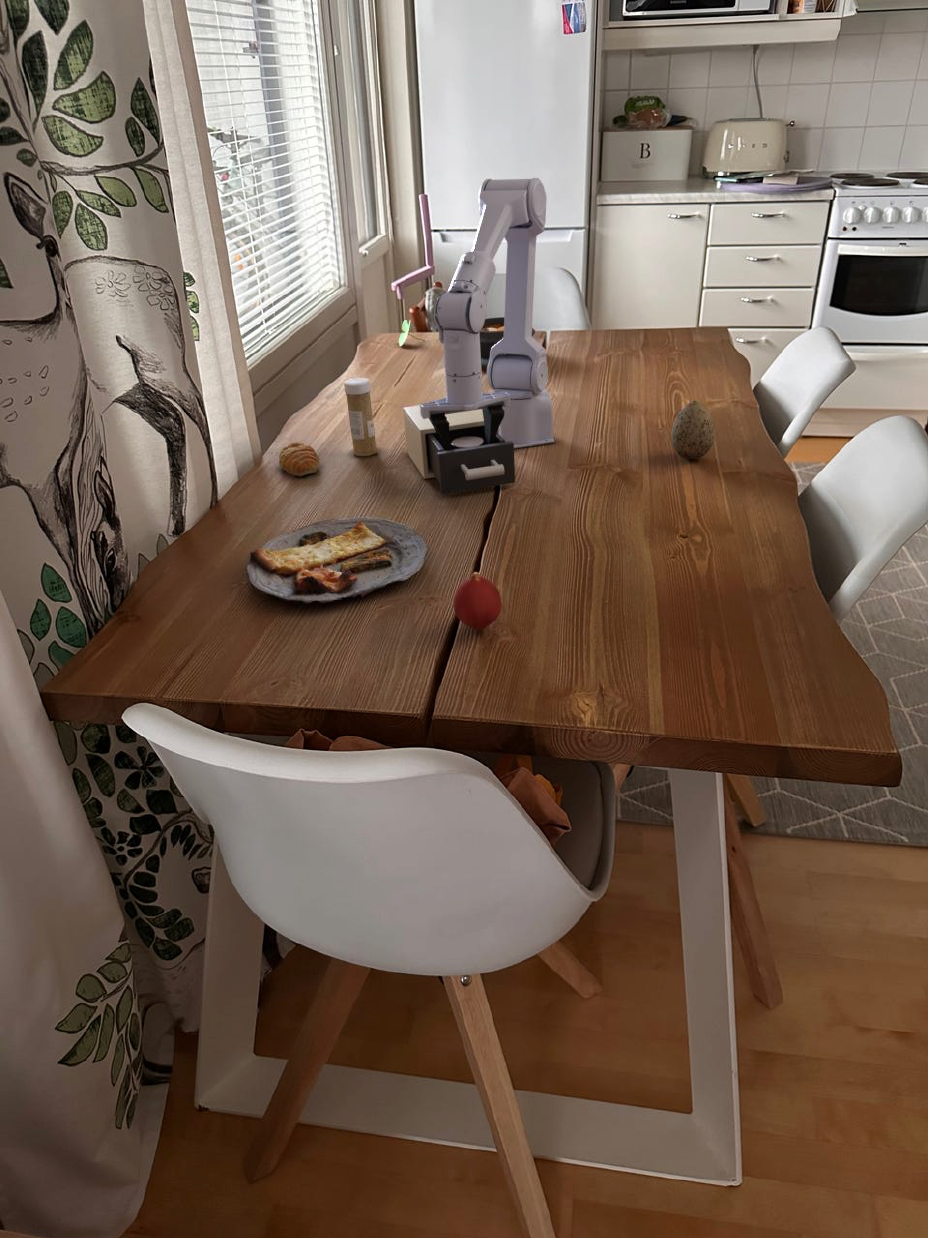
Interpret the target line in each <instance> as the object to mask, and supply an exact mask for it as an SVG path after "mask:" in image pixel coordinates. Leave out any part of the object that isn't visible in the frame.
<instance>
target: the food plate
mask: <svg viewBox="0 0 928 1238" xmlns="http://www.w3.org/2000/svg"><path fill="white" fill-rule="evenodd" d="M427 551H428V548H427V544H426V541H425V538H423V536H422V535H421V534H419V533H418V532H417V531H415V529H413V528H412V527H411V526H409V524H405V523H400V522H397V521H393V520H391V519H385V518H379V517H368V516H367V517H365V516H363V517H362V516H361V517H359V516H358V517H353V518H352V517H351V518H336V519H335V518H331V519H325V520H322V521H318V522H314V523H311V524H308V525H304V526H302V527H299V528H296V529H293V530H291V531H288V532H286V533H283V534H280V535H278V536H275V537H274V538H272V539H270V540H269V541H267V542H266V543H265V544H263V545H262V546H261V547H260V548H259V547H258V548H254V550H252V551H250V552H249V559H248V564H247V565H246V568H245V572H246V573H245V574H246V577H247V579H248V582H249V584H250V586H251V587H252V588H253V589H254V590H255V591H257V592H259V593H261V594H264V595H268V596H270V597H271V596H272V597H274V598H278V599H279V600H281V601H282V602H290V603H296V602H297V603H298V606H300V605H301V602H302V603H303V604H310V603H312V602H314V601H318V603H320V604H325V603H330V602H333V601H335V600H336V601H337V600H338V599H339V600H342V599H344V598H353V597H357V596H358V595H361V596H360V597H361V598H362V597H364V596H366V595H367V594H370V593H371V592H373V591H375V590H377V589H381V588H384V587H386V586H387V585H389V584H394V583H395V582H403V581H404V582H405V581H406V580H409V578H411V577H412V576H413V575H415V574H416V573H417V572H419V571H420V570H421V568H422V567H423V566H424V562H425V559H426V558H425V556H426V553H427ZM300 601H301V602H300Z"/></svg>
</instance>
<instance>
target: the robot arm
mask: <svg viewBox="0 0 928 1238" xmlns="http://www.w3.org/2000/svg"><path fill="white" fill-rule="evenodd" d="M547 198H548V197H547V192H546V189H545V186H544V184H543V182H542V180H541V179H540V178H539V177H532V178H510V179H509V178H508V179H507V178H506V179H492V178H485V179H484V181H482V184H481V185H480V188H479V191H478V209H479V210H478V211H479V216H480V220H479V224H478V227H477V230H476V234H475V237H474V240H473V245H472V248H471V251H468V252H465V253H464V254H463V255H461V258H460V261H459V263H458V266H457V268H456V270H455V273H454V274H453V278H452V280H451V283H450V285H449V288H448V290H447V292H444V293H442V295H440V296H438V297H437V299H436V302H435V305H434V314H433V321H434V325H435V328H436V329H437V331H438V332H437V333H438V339H439V341H440V344H443V345H442V346H443V347H442V348H443V359H444V361H443V362H444V373H445V384H446V385H445V389H446V397H444V398H440V399H436V400H433V401H428V402H424V403H419V405H420V412H421V416H422V418H423V419H427V418H429V420H430V421H431V423H432V425H433V427H434V429H435V431H436V433H437V435H438V437H439V440H440V443H441V446H442V447H443V449H444V451H449V450H450V443H449V422H448V421H447V417H446V416H445V414H452V413H459V412H466V411H473V410H480V409H482V411H483V418H484V426H485V445H488V444H494V442H495V438H496V434H497V431H498V429H499V435H500V436H501V437H502V438H503V439H504V440H505V442H508V441H512V442H513V443H514V449H519V448H527V447H533V446H539V445H547V444H552V443H554V442H555V439H554V426H553V425H554V420H553V419H554V418H553V417H554V415H553V412H554V411H553V401H552V397H551V395H550V392H549V391H548V390H547V389H545V388H546V386H547V383H548V378H549V366H548V364H547V363H548V361H547V350H546V348H545V347H544V346H543V345H542V344H541V343H539V342H538V341H537V340H536V339H535V338H534V337H532V328H533V317H534V315H533V314H534V296H535V295H534V294H535V275H536V274H535V273H536V253H537V252H536V251H537V236H539V235H541V234H543V233H544V232H545V225H546V221H547V220H546V218H547ZM504 239H505V241H506V262H505V263H506V265H505V268H506V269H505V288H504V289H505V291H504V338H503V339H502V340H500V341H499V342H498V343H497V344H495V345H494V346H493V347H492V348H491V351H490V360H489V363H488V366H486V381H487V384H488V385H489V387H490V389H491V390H492V391H494V392H483V375H482V373H483V372H482V366H481V353H480V334H479V331H480V330H481V329H482V327H483V325H484V322H485V319H486V313H487V311H486V310H487V306H488V300H487V295H488V293H489V289H490V287H491V285H492V282H493V279H494V277H495V274H496V265H495V262H494V259H495V256H496V254H497V252H498V251H499V248H500V246H501V244H502V242H503V241H504ZM506 354H523V355H528V356H529V357H520V356H505V355H506Z"/></svg>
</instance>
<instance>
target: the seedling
mask: <svg viewBox="0 0 928 1238" xmlns="http://www.w3.org/2000/svg"><path fill="white" fill-rule="evenodd" d="M410 326H411V320H409V322H408V320H407V319H404V320H403V321H402V326H401V330H402V331H403V332H402V333H400V335H399V338H398V344H399V347H401V346H403V344H404V343H405V341H406V340H407V337H408V336H410V337H412V338H413V339H415V340H419V341H423V342H426V340H425V339H422V338H417V337H416V336H414V335H412V334H410V333H409V330H410Z"/></svg>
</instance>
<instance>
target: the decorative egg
mask: <svg viewBox="0 0 928 1238" xmlns="http://www.w3.org/2000/svg"><path fill="white" fill-rule="evenodd" d="M711 415H712V414H710V412H709V411H708V409H707V408H706V406H705V405H704V404H702V403H701V402H700V401H698V400H692V401H690V402H688V403H687V404H686V405H685V406H684V407H683V408H681V410H680V411H679V412H678V414H677V415H676V417H675V419H674V422H673V424H672V427H671V433H670V437H671V438H670V439H671V440H670V441H671V444H672V447H673V449H674V451H675V453H676V454H677V455H678V456H680V457H681V458H683V459H686V460H697V459H700V458H702V457H704V456H705V455H707V453H708V452H709V451H710V450H711V448H712V447H713V444H714V441H715V437H716V436H715V435H716V428H715V423H714V420H713V417H712V416H711Z"/></svg>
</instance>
